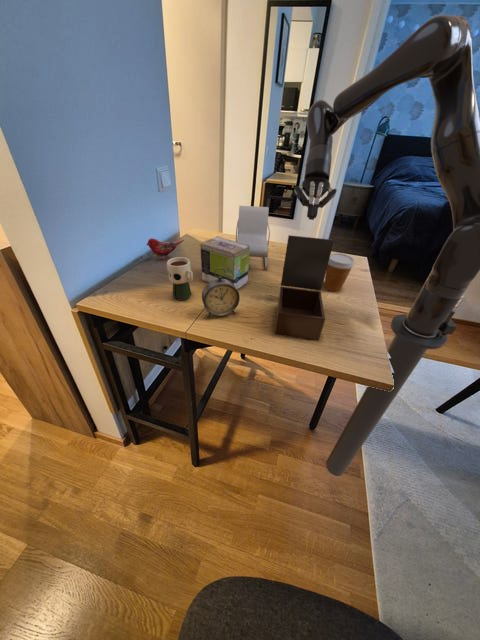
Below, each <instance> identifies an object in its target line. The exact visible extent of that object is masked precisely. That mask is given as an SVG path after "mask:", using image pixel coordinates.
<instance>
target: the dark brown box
mask: <svg viewBox="0 0 480 640" xmlns="http://www.w3.org/2000/svg"><path fill="white" fill-rule="evenodd" d="M321 291H322V290H312V289H304V288H296V287H288V286H280V288H279V293H278V300H277V304H276V305H277V306H276V317H275V330H274V335H277V336H285V337H291V338H299V339H305V340H313V341H319V340H320V337H321V335H322V331H323V328H324V325H325V321H326V315H325V308H324V302H323V296H322V292H321Z"/></svg>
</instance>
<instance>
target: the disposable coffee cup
mask: <svg viewBox="0 0 480 640" xmlns="http://www.w3.org/2000/svg"><path fill="white" fill-rule="evenodd" d="M354 266H355V259H354V257H352V256H351V255H348V254H345V253H339V252H335V253H334V252H333V253H331V254H330V258H329V262H328V266H327V270H326V274H325V278H324V283H323V287H324V288H325V290H327V291H329V292H334V293H338V292H340V291H342V289H343V287H344V284H345V283H346V280H347V279H348V276H349V275H350V272H351V270H352V268H354Z"/></svg>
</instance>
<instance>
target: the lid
mask: <svg viewBox="0 0 480 640" xmlns="http://www.w3.org/2000/svg"><path fill="white" fill-rule="evenodd" d="M334 242H335V240H334V239H331V238H322V237H321V238H320V237H319V238H318V237H312V236H311V237H310V236H300V235H291V234H288V238H287V243H286V248H285V255H284V263H283V268H282V275H281V280H280V287H289V288H297V289H305V290H314V291H322V289H323V287H324V283H325V277H326V270H327V266H328V262H329V258H330V255H331V254H332V250H333V246H334Z"/></svg>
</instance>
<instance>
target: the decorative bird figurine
mask: <svg viewBox="0 0 480 640" xmlns="http://www.w3.org/2000/svg"><path fill="white" fill-rule="evenodd" d="M184 241H185V239H182V240H180V241H177V242H171V241H159V240H158V239H156V238H153V237H152V238H149V239H148V240H147V243H146V246H148V247H149V249H150V250H151V251H152V253H153V254H155V255H156V256H158V257H161V258H159V259H158V261H160V260H161V261H163V260H165V259H169V254H171V253H172V252H174V250H175V249H176V248H177V247H178V245H180V244H183V242H184Z"/></svg>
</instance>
